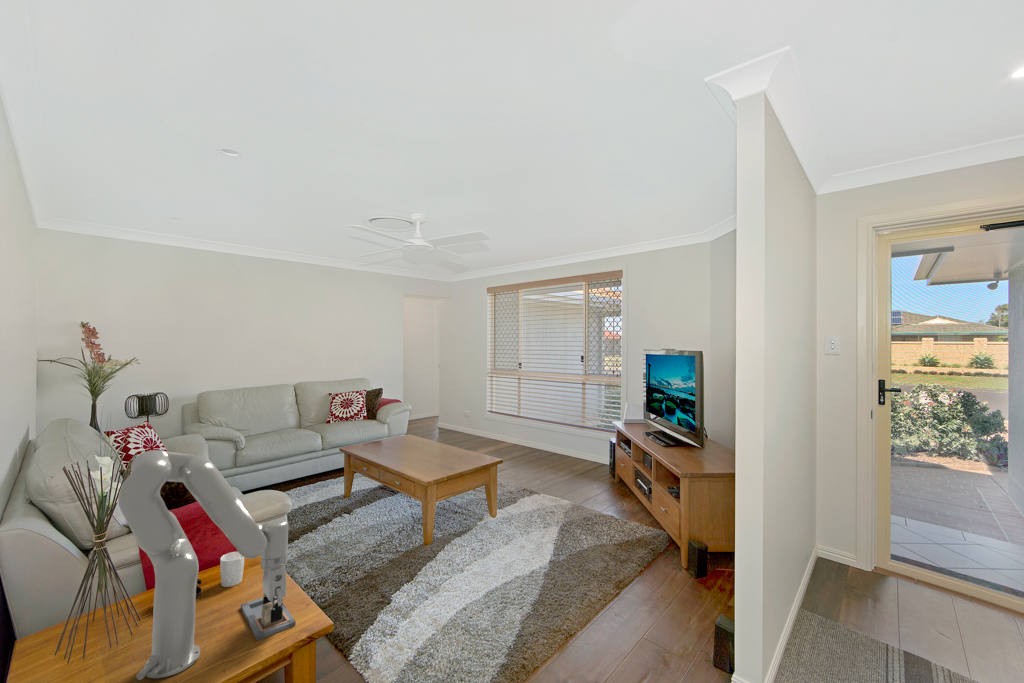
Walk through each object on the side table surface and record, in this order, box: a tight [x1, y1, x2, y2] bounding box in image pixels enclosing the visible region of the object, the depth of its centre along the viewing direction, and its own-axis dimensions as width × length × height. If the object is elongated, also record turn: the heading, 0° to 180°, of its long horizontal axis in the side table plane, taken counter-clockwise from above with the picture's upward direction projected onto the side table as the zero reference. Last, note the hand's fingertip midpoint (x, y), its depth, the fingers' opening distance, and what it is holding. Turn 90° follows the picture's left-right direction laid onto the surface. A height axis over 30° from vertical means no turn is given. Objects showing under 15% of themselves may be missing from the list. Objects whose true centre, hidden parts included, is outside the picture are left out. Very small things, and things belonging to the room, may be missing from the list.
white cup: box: [219, 551, 246, 588], centre depth 165 cm, size 8×8×10 cm
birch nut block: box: [261, 600, 283, 629], centre depth 140 cm, size 5×5×6 cm
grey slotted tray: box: [240, 596, 297, 641], centre depth 144 cm, size 22×11×2 cm, turn 43°
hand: (272, 613), depth 140 cm, fingers open, 8 cm apart
